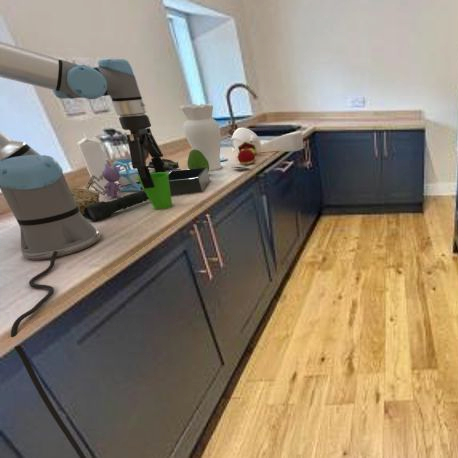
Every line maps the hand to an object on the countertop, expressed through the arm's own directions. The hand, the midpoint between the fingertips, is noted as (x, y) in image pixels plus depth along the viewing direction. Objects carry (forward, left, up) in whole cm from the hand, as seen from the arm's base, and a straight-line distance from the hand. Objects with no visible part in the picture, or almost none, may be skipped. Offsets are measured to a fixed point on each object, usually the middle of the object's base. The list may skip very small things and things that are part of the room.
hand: (156, 182), depth 116 cm
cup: (0, 0, -9) cm, 9 cm away
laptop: (+44, -20, -9) cm, 49 cm away
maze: (+20, +25, -4) cm, 32 cm away
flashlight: (+2, +12, -9) cm, 15 cm away
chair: (+29, +18, -9) cm, 35 cm away
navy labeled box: (+51, +13, -8) cm, 53 cm away
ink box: (+36, +21, -6) cm, 42 cm away
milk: (+33, +29, -9) cm, 45 cm away
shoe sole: (+84, -33, -11) cm, 92 cm away
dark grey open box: (+22, -3, -9) cm, 24 cm away
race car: (+50, +12, -6) cm, 52 cm away
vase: (+53, -7, -9) cm, 54 cm away
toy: (+76, -9, -8) cm, 77 cm away
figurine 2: (+67, -23, -4) cm, 71 cm away
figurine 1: (+19, +21, -8) cm, 29 cm away
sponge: (+6, +26, -9) cm, 28 cm away
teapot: (+79, -26, +1) cm, 83 cm away
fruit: (+39, -5, -9) cm, 40 cm away
